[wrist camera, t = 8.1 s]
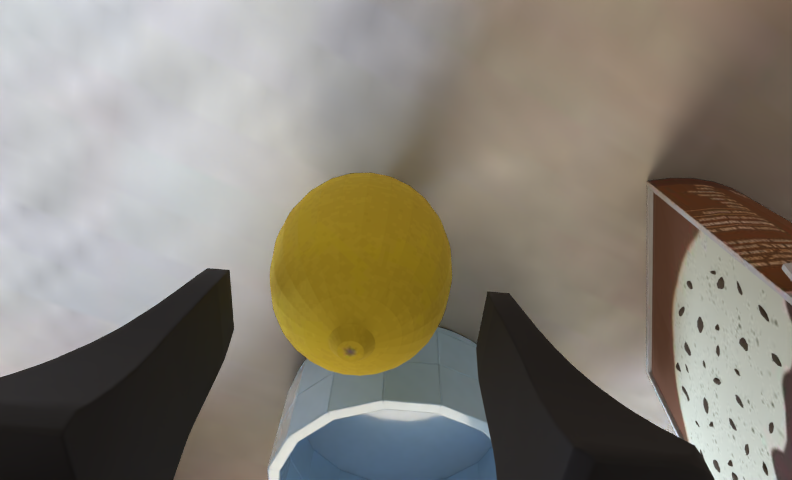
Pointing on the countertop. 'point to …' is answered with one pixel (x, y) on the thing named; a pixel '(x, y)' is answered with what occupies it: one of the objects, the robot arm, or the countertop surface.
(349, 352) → the lemon
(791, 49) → the countertop surface
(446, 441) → the pan
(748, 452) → the food container
